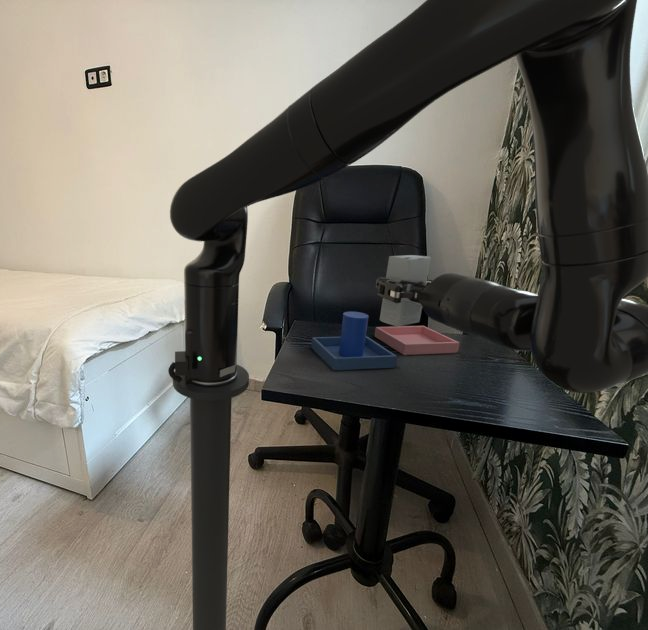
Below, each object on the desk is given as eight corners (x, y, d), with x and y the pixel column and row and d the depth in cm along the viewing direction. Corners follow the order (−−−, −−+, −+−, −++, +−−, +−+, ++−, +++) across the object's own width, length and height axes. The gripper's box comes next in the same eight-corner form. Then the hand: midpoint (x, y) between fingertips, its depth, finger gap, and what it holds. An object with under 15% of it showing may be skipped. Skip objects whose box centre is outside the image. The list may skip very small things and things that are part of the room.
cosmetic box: (399, 317, 69) (409, 254, 65) (421, 323, 65) (432, 256, 62) (377, 321, 66) (386, 255, 62) (399, 328, 62) (410, 258, 59)
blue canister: (345, 360, 74) (350, 318, 71) (334, 350, 79) (339, 311, 76) (367, 359, 75) (373, 317, 72) (356, 350, 79) (361, 311, 77)
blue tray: (333, 370, 70) (334, 358, 69) (311, 347, 82) (311, 337, 81) (395, 367, 72) (397, 356, 71) (364, 345, 83) (366, 335, 83)
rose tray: (403, 355, 78) (405, 344, 78) (374, 336, 90) (375, 327, 89) (457, 352, 80) (459, 342, 80) (421, 334, 92) (423, 325, 91)
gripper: (519, 277, 50) (436, 262, 65) (425, 278, 48) (363, 262, 64) (506, 328, 52) (429, 301, 67) (416, 331, 50) (358, 302, 66)
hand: (397, 282), depth 65 cm, fingers closed on cosmetic box, 7 cm apart
